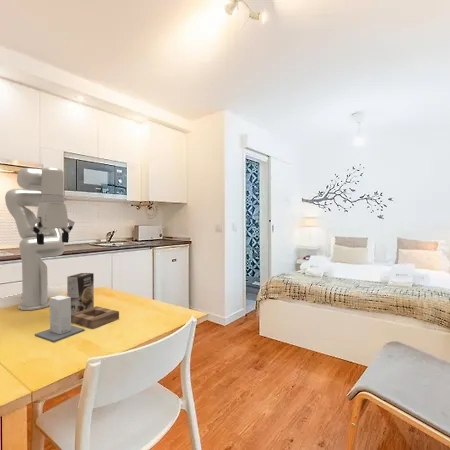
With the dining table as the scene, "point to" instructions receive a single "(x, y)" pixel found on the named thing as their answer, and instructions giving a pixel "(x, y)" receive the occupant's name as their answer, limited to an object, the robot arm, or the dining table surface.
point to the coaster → (56, 337)
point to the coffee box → (81, 291)
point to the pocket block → (94, 317)
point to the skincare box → (60, 314)
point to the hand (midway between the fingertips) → (53, 243)
